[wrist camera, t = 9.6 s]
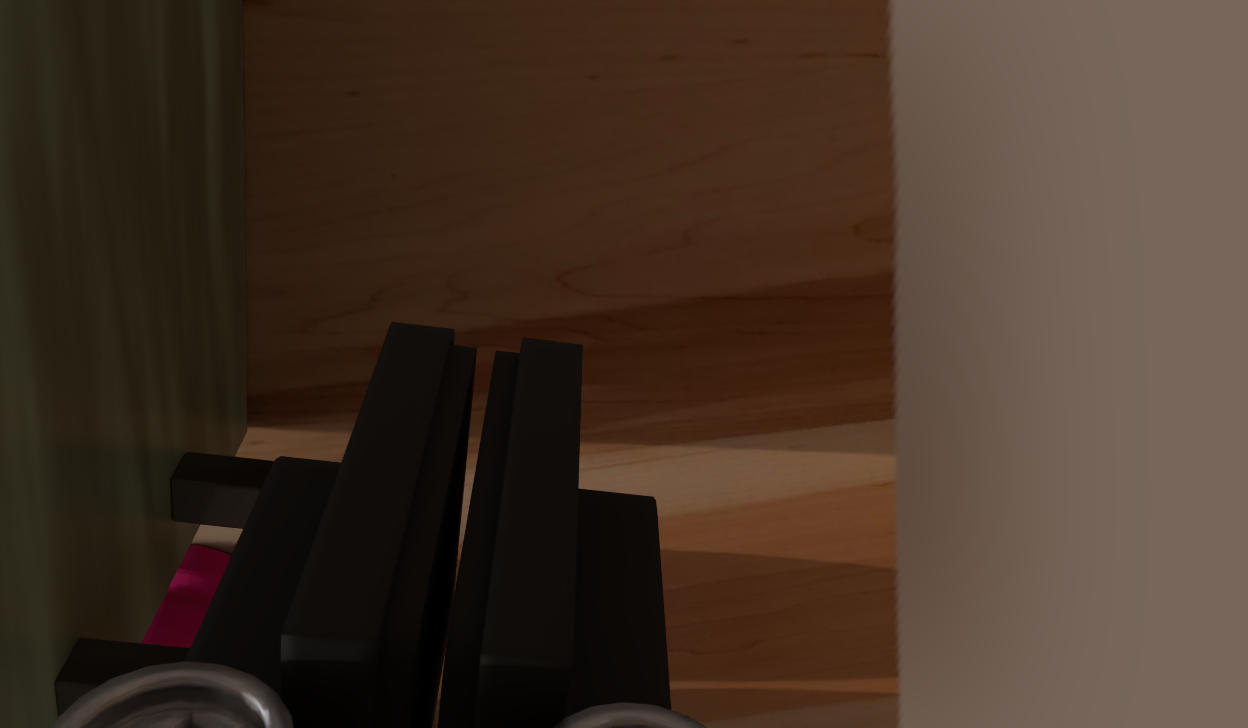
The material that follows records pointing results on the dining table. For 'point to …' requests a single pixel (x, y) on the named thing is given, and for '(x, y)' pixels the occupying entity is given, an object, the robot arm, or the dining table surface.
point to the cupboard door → (115, 329)
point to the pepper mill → (187, 598)
